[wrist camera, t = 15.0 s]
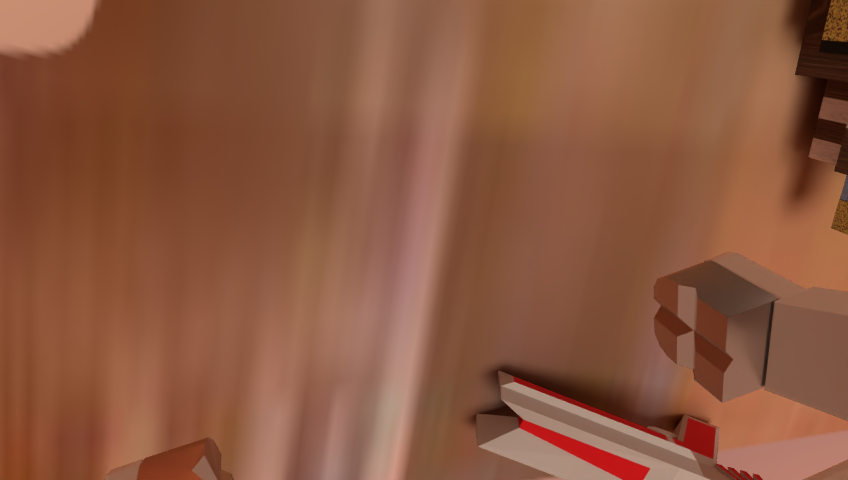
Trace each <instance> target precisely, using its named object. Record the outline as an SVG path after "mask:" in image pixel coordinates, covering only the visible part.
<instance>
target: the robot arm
mask: <svg viewBox="0 0 848 480" xmlns="http://www.w3.org/2000/svg"><path fill="white" fill-rule="evenodd" d="M654 299H655V300H656V301H657V302H658V303H659V304H660V305H661V307H660V308H659V310H658V312H657V314H656V315H655V317H654V329H655V335H656V337H657V340H658V342H659V345H660V347H661V348H662V350H663V351H664V352H665V354H666V355H667V356H668V357H669V358H670V359H671V360H672V361H673V362H674V363H676V364H677V365H680V366H683V367H687V368H690V369H693V373H694V380H695V381H697V382H698V383H699V384H700V385H701V386H703V387H704V388H705V389H706V390H707V391H708V392H710V393H711V394H712V395H713V396H714V397H716V398H717V399H718V400H719V401H720V402H722V403H724V402H726V401H729V400H732V399H734V398H737V397H740V396H742V395H745V394H748V393H750V392H753V391H756V390H758V389H761V388H764V387H765V390H767V391H769V392H772V393H775V394H777V395H780V396H783V397H785V398H788V399H790V400H793V401H796V402H798V403H801V404H804V405H806V406H809V407H812V408H814V409H817V410H820V411H822V412H825V413H828V414H830V415H833V416H836V417H838V418H841V419H844V420H846V421H848V292H845V291H838V290H832V289H825V288H819V287H812V288H809V289H805V288H803V287H801V286H799V285H797V284H795V283H793V282H791V281H790V280H788V279H786V278H784V277H782V276H780V275H778V274H776V273H774V272H772V271H770V270H768V269H766V268H765V267H763V266H761V265H759V264H757V263H755V262H753V261H751V260H749V259H747V258H745V257H743V256H741V255H739V254H738V253H731V252H727V253H724V254H722V255H719V256H716V257H714V258H711V259H708V260H706V261H704V262H703V263H700V264H697V265H694V266H692V267H689V268H686V269H683V270H680V271H678V272H675V273H672V274H669V275H667V276H664V277H661V278H658V279H657V281H656V283H655V286H654ZM104 480H234V479H233V477H232V474H231V473H229V472H226V471H224V470H222V469H221V453H220V451H219V449H218V447H217V445H216V444H215V442H214V440H213V439H211V438H209V437H208V438H205V439H202V440H199V441H195V442H192V443H189V444H186V445H183V446H180V447H177V448H174V449H171V450H168V451H165V452H162V453H159V454H156V455H153V456H150V457H147V458H145V459H144V460H139V461H136V462H133V463H130V464H127V465H124V466H121V467H119V468H116V469H113V470H111V471H110V472H109V473H108V474H107V475H106V477H105V479H104ZM804 480H848V460H846V461H844V462H841V463H839V464H837V465H835V466H832V467H830V468H828V469H826V470H824V471H822V472H819V473H817V474H815V475H813V476H810V477H808V478H806V479H804Z"/></svg>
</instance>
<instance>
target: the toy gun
mask: <svg viewBox="0 0 848 480" xmlns="http://www.w3.org/2000/svg"><path fill="white" fill-rule="evenodd" d="M498 376H499V385H500V393H501V400H503V401H504V402H505V403H506V404H507V405H508V406H509V407H510V408H511V409H512V410H514V411H515V412H516V413H517V414H518V417H510V416H499V415H489V414H477V415H476V437H477V443H478V447H481V448H483V449H486V450H488V451H491V452H494V453H496V454H499V455H502V456H504V457H507V458H509V459H512V460H515V461H517V462H520V463H523V464H525V465H528V466H531V467H533V468H536V469H538V470H541V471H544V472H546V473H549V474H552V475H554V476H557V477H560V478H562V479H565V480H762V478H761V477H760V476H759V475H756V474H753V478H752V477H751V476H750V475H749V474H748V473H747V472H745V471H742V470H740V474H739V473H738V472H737V471H736V470H735V469H734V468H730V467H728V470H727V469H726V468H724V467H723V466H722V465H719V464H717V452H718V438H719V427H716V426H713V425H711V424H708V423H706V422H703V421H701V420H698V419H695V418H693V417H690V416H688V415H683V417H682V418H681V420H680V422H679V423H678V425H677V427H676V428H675V430H674V433H671V432H668V431H666V430H663V429H660V428H657V427H652V426H647V428H646V427H643V426H641V425H638V424H636V423H633V422H630V421H628V420H625V419H623V418H620V417H618V416H615V415H612V414H610V413H607V412H605V411H602V410H599V409H597V408H594V407H592V406H589V405H586V404H584V403H581V402H579V401H576V400H573V399H571V398H568V397H566V396H563V395H561V394H558V393H555V392H553V391H550V390H548V389H545V388H542V387H540V386H537V385H535V384H532V383H529V382H527V381H524V380H522V379H519V378H517V377H514V376H512V375H509V374H507V373H504V372H502V371H498Z"/></svg>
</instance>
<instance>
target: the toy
mask: <svg viewBox="0 0 848 480" xmlns="http://www.w3.org/2000/svg"><path fill="white" fill-rule="evenodd" d="M795 75H802V76H809V77H816V78H822V79H828V81H827V85H826V89H825V93H824V97H823V101H822V105H821V109H820V113H819V117H818V121H817V125H816V129H815V133H814V137H813V141H812V145H811V149H810V153H809V158H813V159H816V160H820V161H823V162H827V163H830V164H833V165H836V167H835V170H834V171H836V172H839V173H843V174H846V175H847V176H846V180H845V183H844V187H843V190H842V194H841V198H840V199H839V202H838V205H837V209H836V212H835V216H834V220H833V223H832V227H831V228H832V229H835V230H837V231H840V232H842V233H845V234H847V235H848V0H812V2H811V6H810V11H809V15H808V19H807V24H806V28H805V33H804V37H803V42H802V46H801V51H800V55H799V59H798V64H797V68H796V73H795Z"/></svg>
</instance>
